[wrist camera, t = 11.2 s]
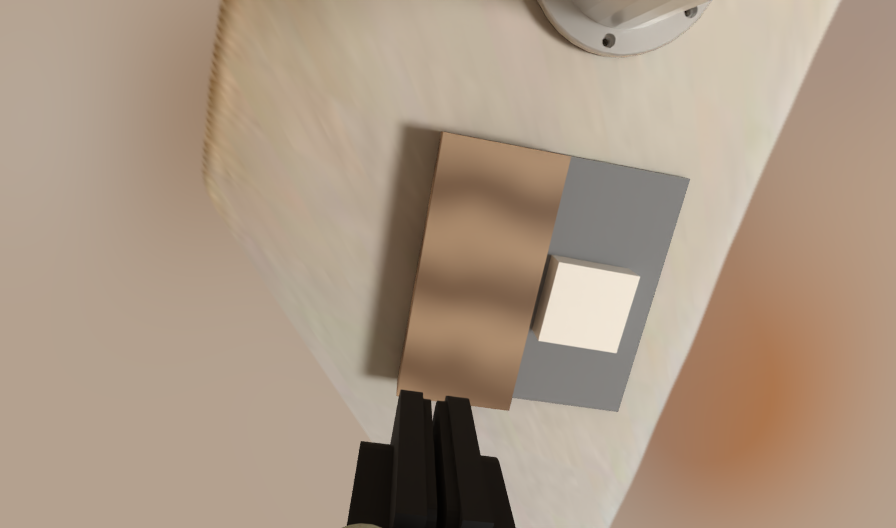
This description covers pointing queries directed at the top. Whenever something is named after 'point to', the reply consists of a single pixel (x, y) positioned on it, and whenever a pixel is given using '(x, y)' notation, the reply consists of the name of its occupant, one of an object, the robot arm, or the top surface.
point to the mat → (612, 243)
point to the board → (479, 268)
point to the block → (584, 304)
